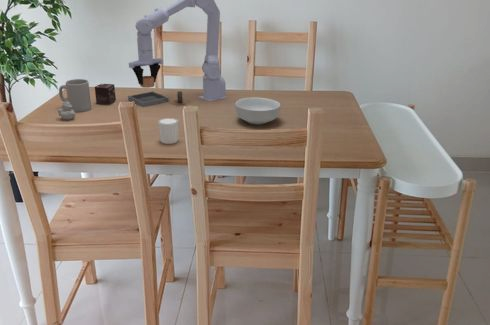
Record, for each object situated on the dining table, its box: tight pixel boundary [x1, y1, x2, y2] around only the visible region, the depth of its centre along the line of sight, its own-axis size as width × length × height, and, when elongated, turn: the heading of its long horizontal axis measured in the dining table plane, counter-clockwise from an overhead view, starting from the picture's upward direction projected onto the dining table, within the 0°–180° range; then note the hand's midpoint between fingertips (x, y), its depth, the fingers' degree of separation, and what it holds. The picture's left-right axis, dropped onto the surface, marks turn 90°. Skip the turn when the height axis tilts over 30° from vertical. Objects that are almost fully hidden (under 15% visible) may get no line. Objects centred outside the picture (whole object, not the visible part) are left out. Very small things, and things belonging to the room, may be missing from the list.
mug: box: [58, 78, 92, 113], centre depth 187 cm, size 12×8×11 cm
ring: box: [139, 75, 155, 89], centre depth 196 cm, size 8×5×4 cm
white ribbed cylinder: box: [157, 117, 180, 145], centre depth 158 cm, size 7×7×7 cm
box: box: [94, 83, 117, 106], centre depth 196 cm, size 6×6×7 cm
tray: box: [127, 91, 170, 108], centre depth 199 cm, size 12×12×2 cm
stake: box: [167, 91, 194, 107], centre depth 197 cm, size 8×8×5 cm
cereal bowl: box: [234, 96, 281, 125], centre depth 179 cm, size 17×17×7 cm
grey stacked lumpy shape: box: [57, 99, 76, 121], centre depth 176 cm, size 5×7×8 cm
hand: (147, 83), depth 196 cm, fingers closed on ring, 5 cm apart
